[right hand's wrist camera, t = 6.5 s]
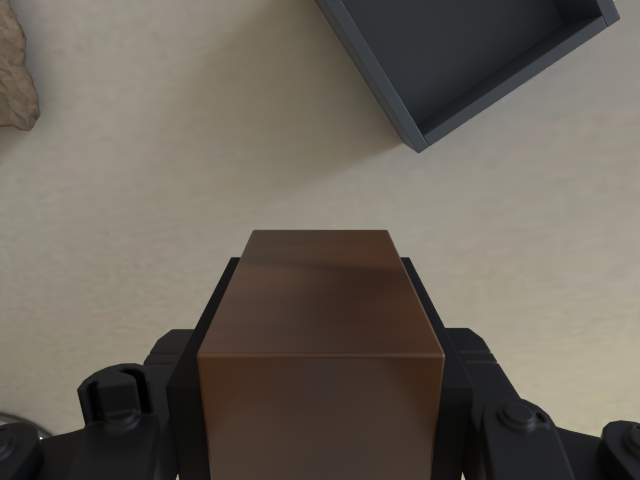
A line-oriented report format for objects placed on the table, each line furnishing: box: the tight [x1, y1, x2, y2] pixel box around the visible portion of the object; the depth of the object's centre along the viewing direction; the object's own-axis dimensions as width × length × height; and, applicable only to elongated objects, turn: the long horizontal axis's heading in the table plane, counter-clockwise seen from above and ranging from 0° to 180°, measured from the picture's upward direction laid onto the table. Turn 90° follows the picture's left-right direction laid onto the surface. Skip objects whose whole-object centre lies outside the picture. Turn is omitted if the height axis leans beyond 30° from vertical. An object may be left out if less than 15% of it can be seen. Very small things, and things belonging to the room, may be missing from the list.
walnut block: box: [197, 230, 445, 480], centre depth 12 cm, size 4×4×7 cm
